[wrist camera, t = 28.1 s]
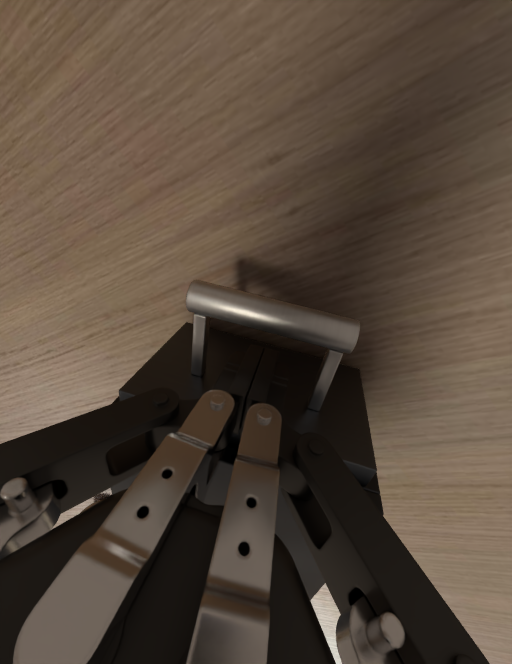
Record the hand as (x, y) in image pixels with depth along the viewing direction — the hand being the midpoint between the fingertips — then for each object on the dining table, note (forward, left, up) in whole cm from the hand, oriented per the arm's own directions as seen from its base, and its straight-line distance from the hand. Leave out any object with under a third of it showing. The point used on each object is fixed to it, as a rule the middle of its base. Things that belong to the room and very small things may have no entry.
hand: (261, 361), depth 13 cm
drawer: (+5, +2, -4) cm, 6 cm away
